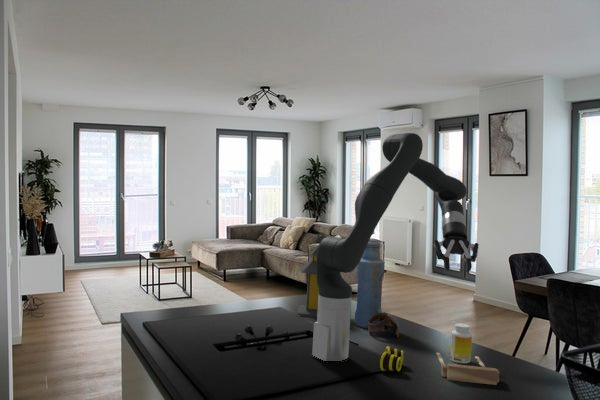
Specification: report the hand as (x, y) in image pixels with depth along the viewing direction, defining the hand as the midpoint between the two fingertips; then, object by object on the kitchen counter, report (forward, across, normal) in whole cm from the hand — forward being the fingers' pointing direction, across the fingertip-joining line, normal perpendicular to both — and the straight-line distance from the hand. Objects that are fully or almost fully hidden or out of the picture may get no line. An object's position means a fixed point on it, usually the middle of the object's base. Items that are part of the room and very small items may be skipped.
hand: (458, 269), depth 156 cm
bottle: (+4, -26, +30) cm, 40 cm away
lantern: (-4, -45, +39) cm, 60 cm away
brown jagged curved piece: (+11, -21, +24) cm, 34 cm away
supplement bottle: (+26, 0, +9) cm, 27 cm away
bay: (+30, 0, +5) cm, 30 cm away
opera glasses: (+34, -20, +1) cm, 39 cm away
